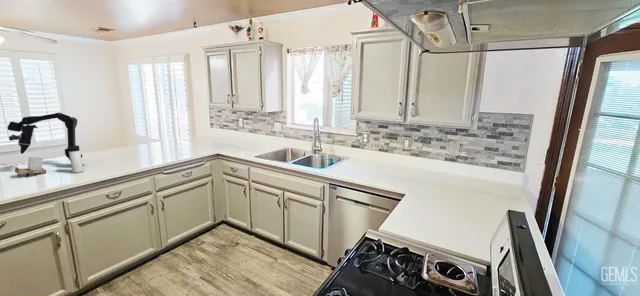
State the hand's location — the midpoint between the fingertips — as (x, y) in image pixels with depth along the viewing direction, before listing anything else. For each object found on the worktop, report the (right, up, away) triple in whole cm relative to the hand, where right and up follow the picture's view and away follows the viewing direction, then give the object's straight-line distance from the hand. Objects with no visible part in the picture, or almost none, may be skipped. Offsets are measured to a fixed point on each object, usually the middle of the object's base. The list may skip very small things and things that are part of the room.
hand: (21, 153), depth 207 cm
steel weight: (+13, -12, -3) cm, 18 cm away
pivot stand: (+12, -15, -4) cm, 20 cm away
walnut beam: (+11, -14, -6) cm, 19 cm away
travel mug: (+40, -14, +3) cm, 42 cm away
